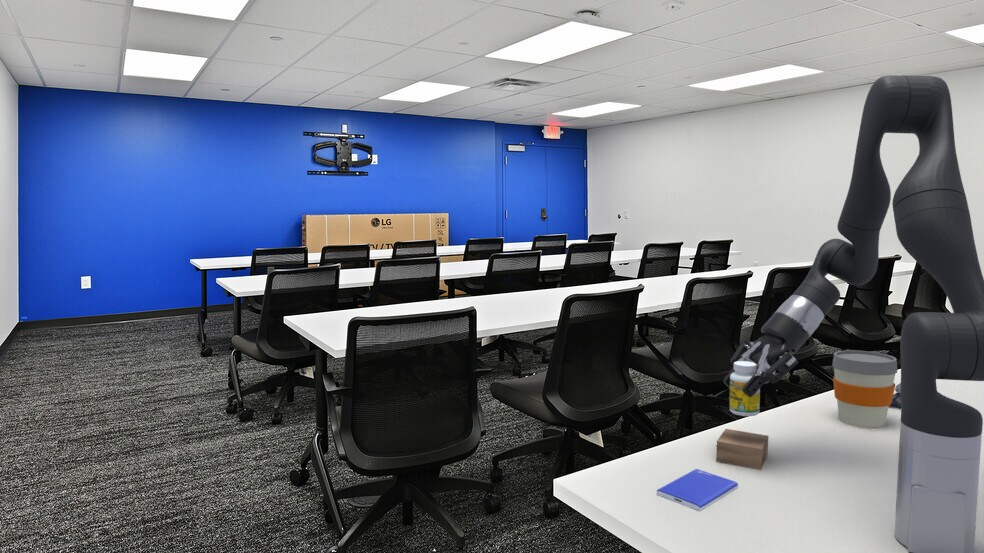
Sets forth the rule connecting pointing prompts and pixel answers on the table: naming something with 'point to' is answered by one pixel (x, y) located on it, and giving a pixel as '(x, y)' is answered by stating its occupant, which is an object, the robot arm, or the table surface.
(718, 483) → the hard drive
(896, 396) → the snack package
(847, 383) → the reusable coffee cup
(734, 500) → the table surface
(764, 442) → the walnut base block
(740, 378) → the supplement bottle
